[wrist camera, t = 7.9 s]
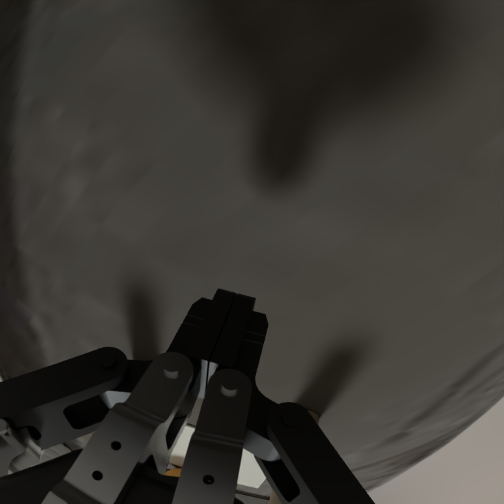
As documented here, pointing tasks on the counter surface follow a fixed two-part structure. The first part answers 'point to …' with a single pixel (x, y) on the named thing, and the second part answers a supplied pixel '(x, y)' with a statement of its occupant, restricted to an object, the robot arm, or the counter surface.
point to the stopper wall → (250, 499)
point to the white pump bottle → (53, 453)
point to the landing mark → (248, 469)
